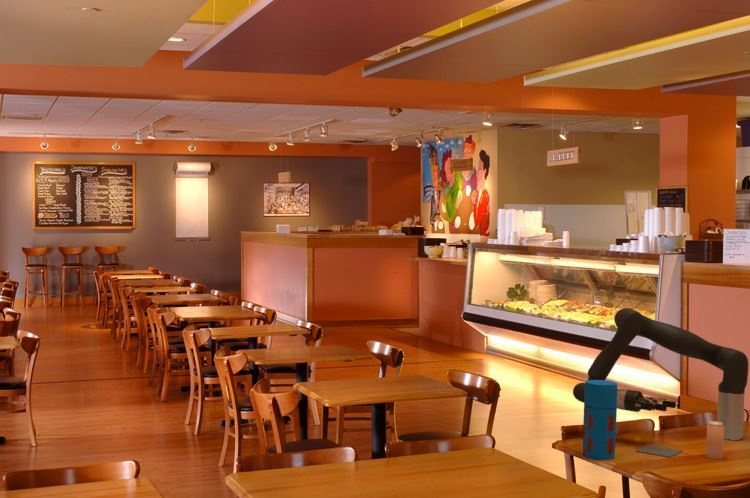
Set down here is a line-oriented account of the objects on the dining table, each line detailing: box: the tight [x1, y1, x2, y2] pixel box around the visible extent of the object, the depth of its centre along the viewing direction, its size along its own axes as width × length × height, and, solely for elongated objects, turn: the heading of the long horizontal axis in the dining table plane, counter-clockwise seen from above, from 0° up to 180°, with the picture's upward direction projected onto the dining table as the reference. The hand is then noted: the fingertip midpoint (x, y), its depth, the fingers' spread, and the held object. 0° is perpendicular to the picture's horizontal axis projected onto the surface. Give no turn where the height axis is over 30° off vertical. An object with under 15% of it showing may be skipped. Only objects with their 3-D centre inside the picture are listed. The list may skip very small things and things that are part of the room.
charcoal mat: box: [635, 444, 684, 459], centre depth 331 cm, size 12×12×1 cm
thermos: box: [582, 379, 619, 461], centre depth 322 cm, size 11×11×25 cm
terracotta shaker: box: [705, 420, 725, 460], centre depth 325 cm, size 6×6×12 cm
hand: (671, 406), depth 334 cm, fingers open, 8 cm apart
